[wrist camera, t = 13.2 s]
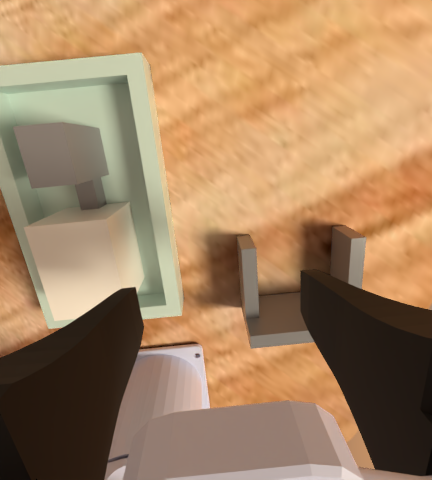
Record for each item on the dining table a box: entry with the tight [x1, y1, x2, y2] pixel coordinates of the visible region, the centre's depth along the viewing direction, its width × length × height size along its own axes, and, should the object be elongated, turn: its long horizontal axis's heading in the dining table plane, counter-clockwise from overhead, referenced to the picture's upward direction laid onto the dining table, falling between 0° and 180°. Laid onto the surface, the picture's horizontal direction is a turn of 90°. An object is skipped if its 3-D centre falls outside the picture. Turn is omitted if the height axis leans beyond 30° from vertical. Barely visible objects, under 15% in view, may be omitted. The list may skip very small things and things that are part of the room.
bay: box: [237, 225, 366, 348], centre depth 20 cm, size 6×8×5 cm
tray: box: [0, 53, 184, 329], centre depth 19 cm, size 17×10×2 cm, turn 5°
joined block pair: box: [13, 122, 144, 321], centre depth 18 cm, size 11×4×5 cm, turn 5°
